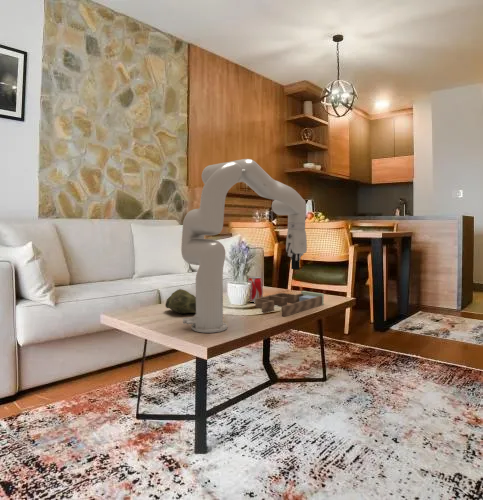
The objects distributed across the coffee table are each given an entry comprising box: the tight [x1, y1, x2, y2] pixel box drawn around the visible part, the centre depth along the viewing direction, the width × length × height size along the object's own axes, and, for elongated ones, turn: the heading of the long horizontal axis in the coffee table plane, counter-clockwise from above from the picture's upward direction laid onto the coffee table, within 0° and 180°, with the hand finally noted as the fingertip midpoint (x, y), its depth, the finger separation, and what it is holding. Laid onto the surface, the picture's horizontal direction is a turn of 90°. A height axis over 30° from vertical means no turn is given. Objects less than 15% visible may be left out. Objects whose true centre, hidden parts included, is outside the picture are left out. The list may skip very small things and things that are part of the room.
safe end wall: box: [300, 290, 325, 306], centre depth 185 cm, size 1×11×5 cm, turn 49°
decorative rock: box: [165, 288, 196, 315], centre depth 165 cm, size 15×16×10 cm
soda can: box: [247, 275, 264, 302], centre depth 187 cm, size 7×7×12 cm
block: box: [299, 295, 316, 302], centre depth 180 cm, size 6×6×4 cm
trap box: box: [254, 292, 323, 317], centre depth 176 cm, size 30×20×4 cm, turn 139°
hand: (295, 269), depth 173 cm, fingers closed
